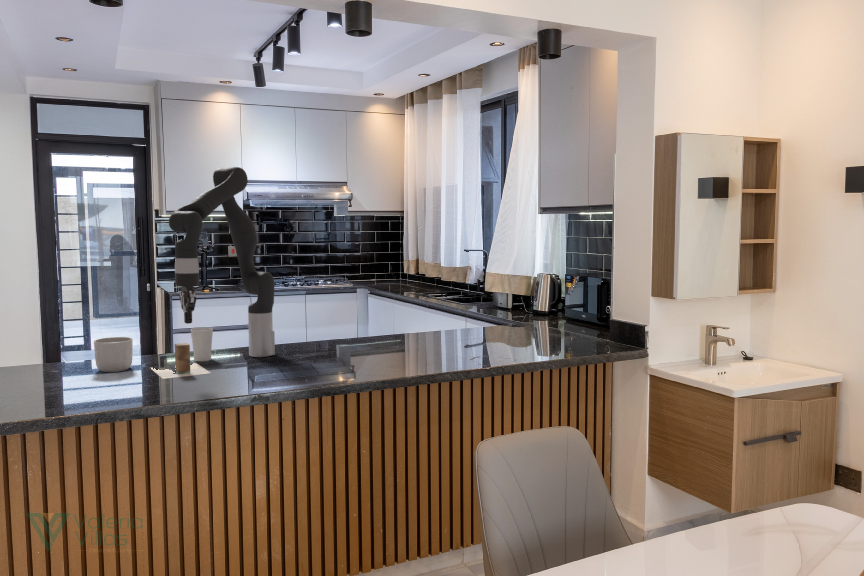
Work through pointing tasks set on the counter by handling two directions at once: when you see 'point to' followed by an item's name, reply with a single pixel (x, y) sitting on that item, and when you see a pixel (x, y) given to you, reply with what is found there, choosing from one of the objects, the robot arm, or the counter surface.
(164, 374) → the cream flat rectangular panel
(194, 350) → the cup
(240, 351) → the counter surface
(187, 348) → the walnut block
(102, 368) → the planter
